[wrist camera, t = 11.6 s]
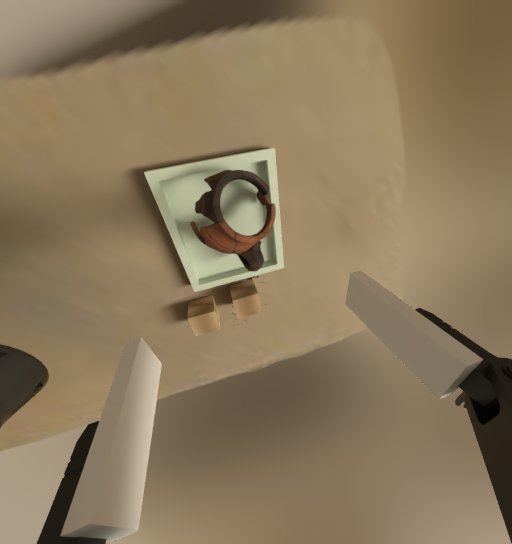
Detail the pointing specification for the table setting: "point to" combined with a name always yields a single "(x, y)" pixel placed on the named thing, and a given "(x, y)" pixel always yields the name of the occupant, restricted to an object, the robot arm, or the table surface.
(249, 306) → the oak cube
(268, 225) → the broken pot
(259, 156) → the tray
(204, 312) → the oak cube
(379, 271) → the table surface
